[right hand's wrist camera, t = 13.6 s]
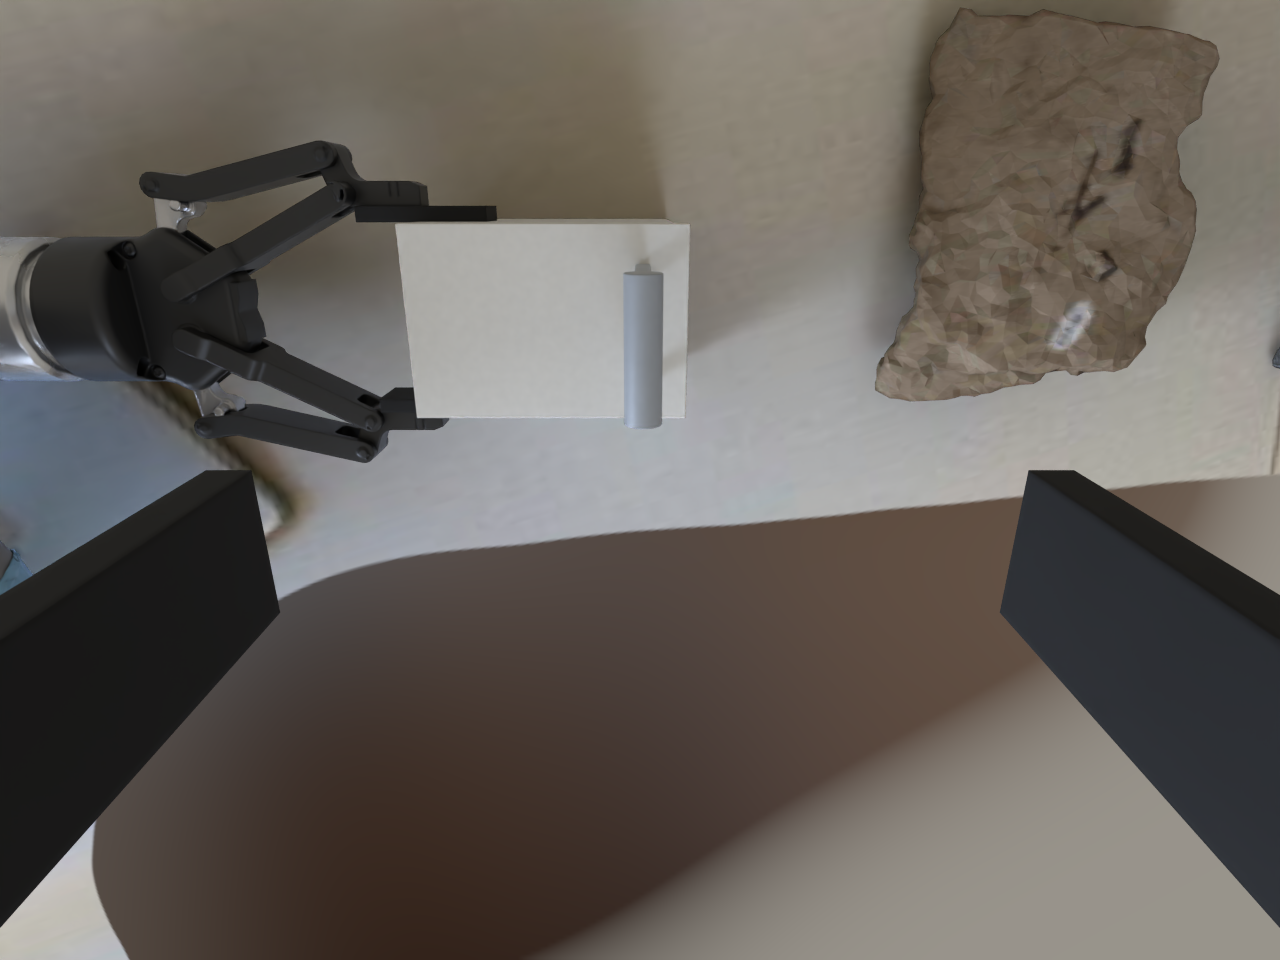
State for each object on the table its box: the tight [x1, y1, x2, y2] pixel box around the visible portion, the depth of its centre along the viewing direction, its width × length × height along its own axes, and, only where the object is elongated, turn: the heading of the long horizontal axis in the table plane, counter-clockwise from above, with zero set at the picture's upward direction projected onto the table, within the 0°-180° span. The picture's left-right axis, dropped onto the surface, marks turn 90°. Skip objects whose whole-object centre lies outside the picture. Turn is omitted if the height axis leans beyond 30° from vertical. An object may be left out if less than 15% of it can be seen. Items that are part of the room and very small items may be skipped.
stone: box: [875, 8, 1220, 401], centre depth 41 cm, size 21×15×6 cm
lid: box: [395, 223, 690, 429], centre depth 31 cm, size 13×9×8 cm
